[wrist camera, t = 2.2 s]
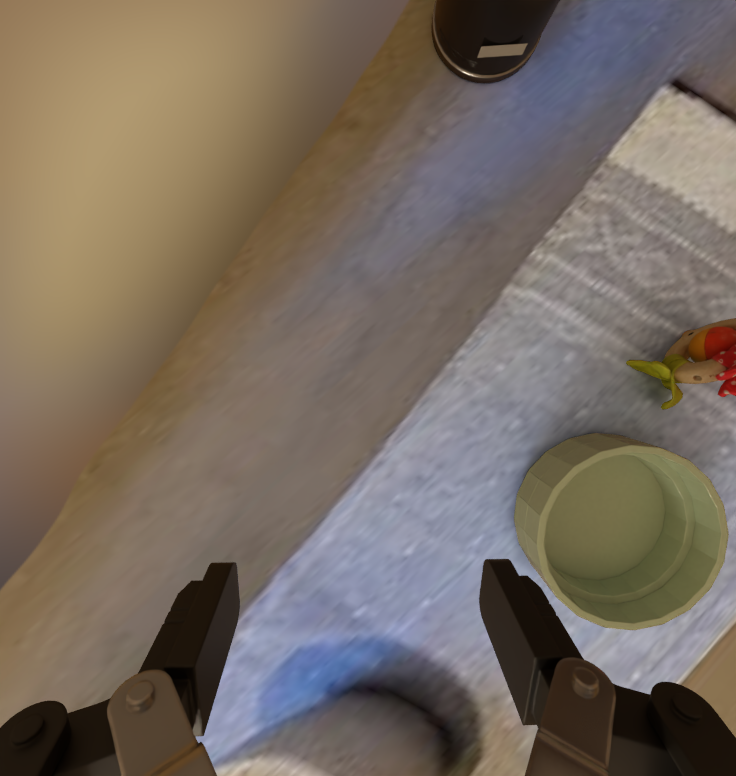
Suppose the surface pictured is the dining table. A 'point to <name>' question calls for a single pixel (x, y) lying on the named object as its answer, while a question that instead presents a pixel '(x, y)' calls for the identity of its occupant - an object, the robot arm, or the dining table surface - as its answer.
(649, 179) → the dining table surface
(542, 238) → the dining table surface
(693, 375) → the bird rattle
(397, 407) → the dining table surface
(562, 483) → the bowl
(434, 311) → the dining table surface
